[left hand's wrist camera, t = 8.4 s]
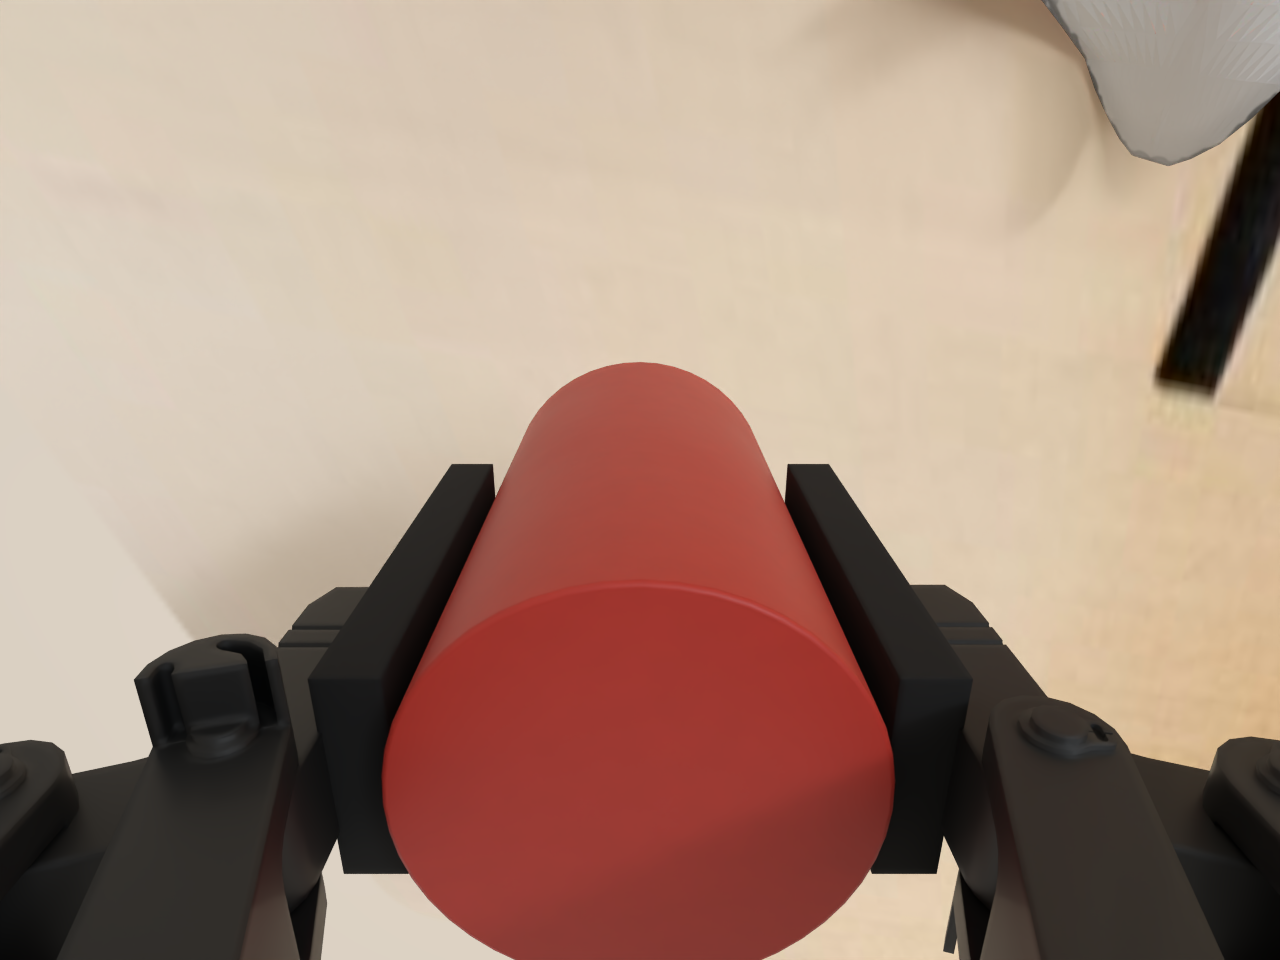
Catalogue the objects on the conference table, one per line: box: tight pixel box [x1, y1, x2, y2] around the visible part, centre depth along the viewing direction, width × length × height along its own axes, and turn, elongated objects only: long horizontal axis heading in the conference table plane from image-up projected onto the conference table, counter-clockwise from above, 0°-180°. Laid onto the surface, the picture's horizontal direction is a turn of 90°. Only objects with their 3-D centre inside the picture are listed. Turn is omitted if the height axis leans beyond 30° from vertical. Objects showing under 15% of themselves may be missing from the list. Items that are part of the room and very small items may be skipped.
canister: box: [381, 362, 895, 960], centre depth 12 cm, size 5×5×9 cm
